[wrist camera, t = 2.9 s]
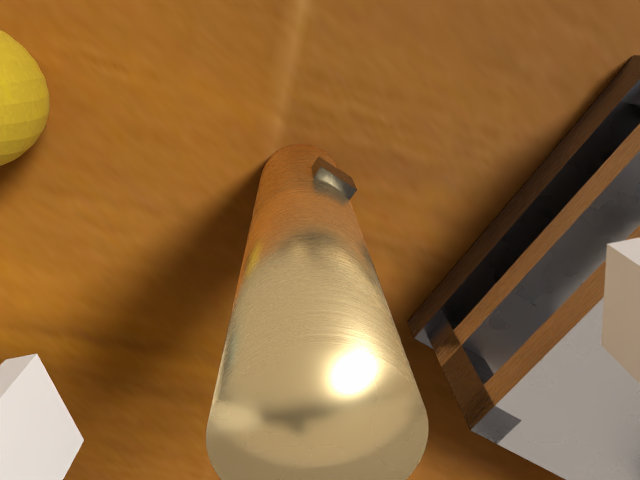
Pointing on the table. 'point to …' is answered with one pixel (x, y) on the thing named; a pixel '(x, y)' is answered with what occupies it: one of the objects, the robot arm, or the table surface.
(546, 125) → the table surface
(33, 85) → the lemon
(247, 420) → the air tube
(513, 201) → the switch frame
